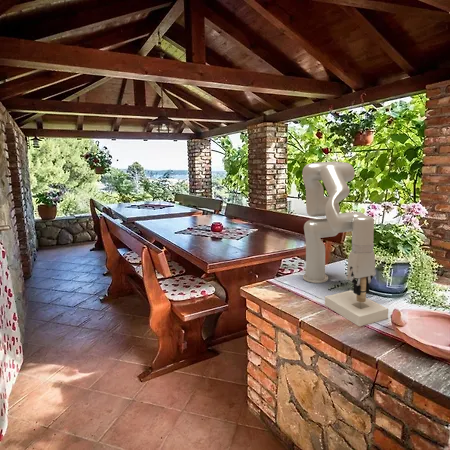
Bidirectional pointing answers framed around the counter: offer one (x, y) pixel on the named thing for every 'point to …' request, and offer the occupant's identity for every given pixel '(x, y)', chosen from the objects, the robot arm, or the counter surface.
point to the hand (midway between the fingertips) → (361, 292)
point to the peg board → (356, 308)
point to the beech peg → (362, 290)
